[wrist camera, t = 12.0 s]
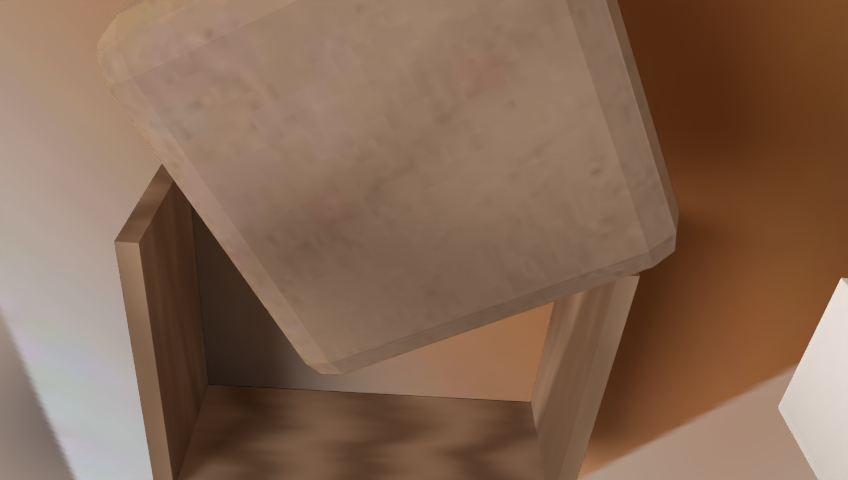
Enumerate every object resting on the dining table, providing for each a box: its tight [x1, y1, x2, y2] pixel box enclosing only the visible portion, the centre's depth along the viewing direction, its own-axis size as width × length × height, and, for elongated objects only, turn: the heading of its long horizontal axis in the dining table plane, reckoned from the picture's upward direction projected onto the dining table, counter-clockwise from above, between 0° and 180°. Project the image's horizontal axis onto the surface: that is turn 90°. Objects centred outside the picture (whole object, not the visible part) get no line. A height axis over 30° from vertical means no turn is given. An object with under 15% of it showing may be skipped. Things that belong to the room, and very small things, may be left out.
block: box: [97, 0, 679, 374], centre depth 24 cm, size 10×10×20 cm
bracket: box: [114, 164, 640, 480], centre depth 40 cm, size 23×17×8 cm
